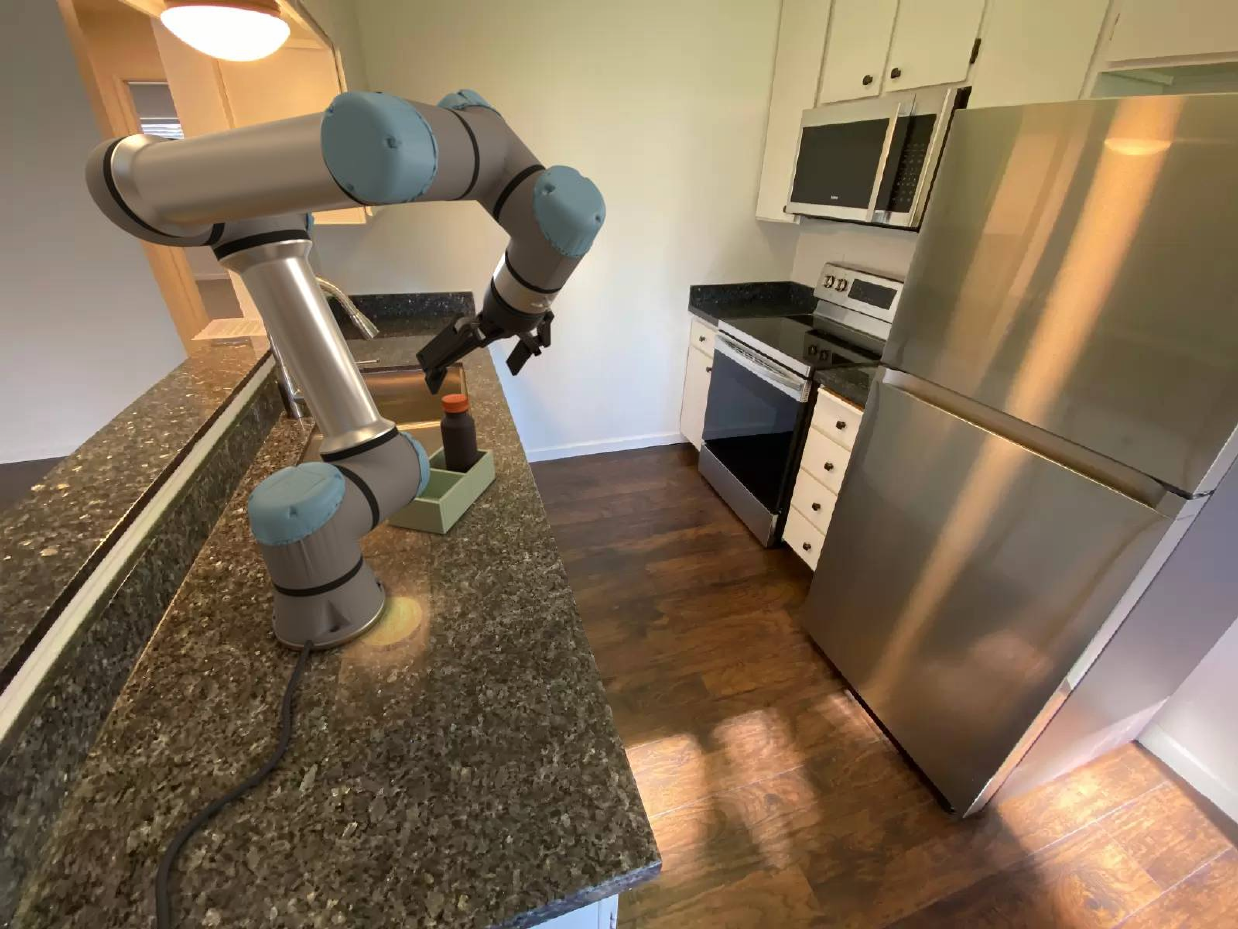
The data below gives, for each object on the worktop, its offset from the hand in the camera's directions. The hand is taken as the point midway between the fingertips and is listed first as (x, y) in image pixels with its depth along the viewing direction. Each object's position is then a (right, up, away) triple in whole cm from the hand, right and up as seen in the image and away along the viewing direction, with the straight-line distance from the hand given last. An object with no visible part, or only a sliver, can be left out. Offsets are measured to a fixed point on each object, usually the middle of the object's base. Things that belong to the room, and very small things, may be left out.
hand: (472, 377), depth 80 cm
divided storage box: (-14, -21, +29) cm, 39 cm away
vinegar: (-11, -18, +34) cm, 40 cm away
